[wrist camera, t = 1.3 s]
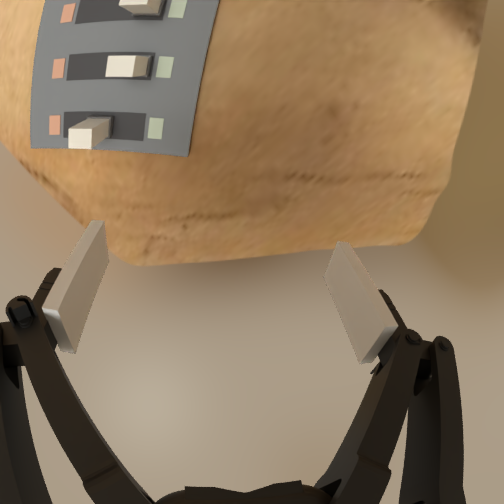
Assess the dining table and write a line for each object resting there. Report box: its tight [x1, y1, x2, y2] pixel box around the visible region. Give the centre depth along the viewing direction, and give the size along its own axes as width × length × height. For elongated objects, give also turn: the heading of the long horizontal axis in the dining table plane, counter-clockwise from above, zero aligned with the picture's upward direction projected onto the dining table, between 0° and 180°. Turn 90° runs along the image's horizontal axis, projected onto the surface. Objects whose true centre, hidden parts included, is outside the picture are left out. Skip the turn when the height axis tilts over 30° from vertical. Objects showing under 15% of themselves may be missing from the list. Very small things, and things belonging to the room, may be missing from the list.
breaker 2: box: [105, 55, 153, 77], centre depth 22 cm, size 2×3×6 cm
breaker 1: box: [119, 0, 165, 17], centre depth 18 cm, size 2×3×6 cm
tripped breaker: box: [68, 115, 114, 149], centre depth 25 cm, size 2×3×6 cm
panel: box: [30, 0, 220, 157], centre depth 24 cm, size 20×21×1 cm
